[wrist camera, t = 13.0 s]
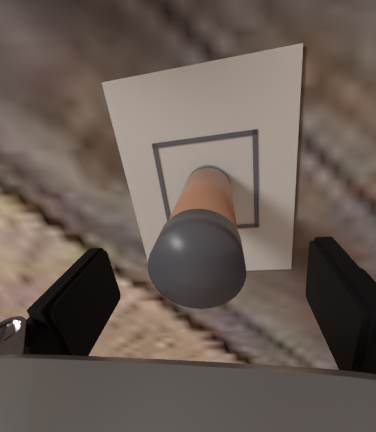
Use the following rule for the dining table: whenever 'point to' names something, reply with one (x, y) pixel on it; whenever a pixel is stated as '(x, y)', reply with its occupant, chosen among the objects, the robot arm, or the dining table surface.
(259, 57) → the paper sheet
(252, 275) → the dining table surface
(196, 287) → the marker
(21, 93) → the dining table surface
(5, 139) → the dining table surface
